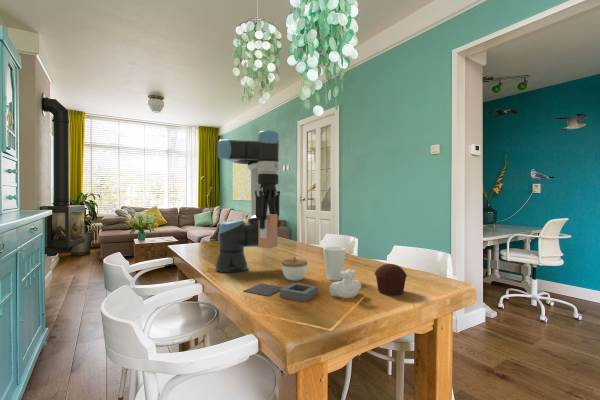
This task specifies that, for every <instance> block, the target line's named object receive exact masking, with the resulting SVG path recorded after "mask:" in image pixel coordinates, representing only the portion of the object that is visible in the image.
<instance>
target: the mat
mask: <svg viewBox="0 0 600 400" xmlns="http://www.w3.org/2000/svg"><path fill="white" fill-rule="evenodd" d="M284 287H285V286H280V285H279V286H278V285H273V284H267V283H258V284H256V285H254V286H252V287H249V288H247V289H245V290H243V292H244V293H249V294H253V295H258V296H264V297H268V298H269V297H271V296H273V295H274V294H275V295H276V293H278V292H279V293H280V289H282V288H284Z"/></svg>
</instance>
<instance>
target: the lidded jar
mask: <svg viewBox="0 0 600 400" xmlns="http://www.w3.org/2000/svg"><path fill="white" fill-rule="evenodd" d="M281 269H282V275H283V277H284V278H285V279H286V280H288V281H290V282H297V281H301V280H303V279H304V278H305V276H306V274H307V269H308V261H307V260H305V259H302V258H300V259H299V258H297V257H293V258H290V259H289V258H288V259H284V260H282V261H281Z"/></svg>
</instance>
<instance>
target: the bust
mask: <svg viewBox="0 0 600 400" xmlns="http://www.w3.org/2000/svg"><path fill="white" fill-rule="evenodd" d="M356 271H357V270H356V269H354V270H352V269H351V268H348V269H347V268H346V269H345V270H343V271H340V273H341V275H342V279H341V280H338V281H333V282H332V283H331V284H330V286H329V292H330V296H332V297H338V298H342V299H354V298H355V297H357V295H358V294H359V292H360V289H362V282H361V281H360V280H357V279H355V277H356V273H357V272H356Z"/></svg>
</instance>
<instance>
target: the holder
mask: <svg viewBox="0 0 600 400" xmlns="http://www.w3.org/2000/svg"><path fill="white" fill-rule="evenodd" d="M283 287H284V288H282V289H280V291H279V297H280V298H283V299H289V300H295V301H298V302H299V301H300V302H305V303H307V301H309V300H310V299H312V298H313V297H315V296H317V294H319V286H318V285H312V284H307V283H300V282H292V283H289V284H287V285H286V286H283Z"/></svg>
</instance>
